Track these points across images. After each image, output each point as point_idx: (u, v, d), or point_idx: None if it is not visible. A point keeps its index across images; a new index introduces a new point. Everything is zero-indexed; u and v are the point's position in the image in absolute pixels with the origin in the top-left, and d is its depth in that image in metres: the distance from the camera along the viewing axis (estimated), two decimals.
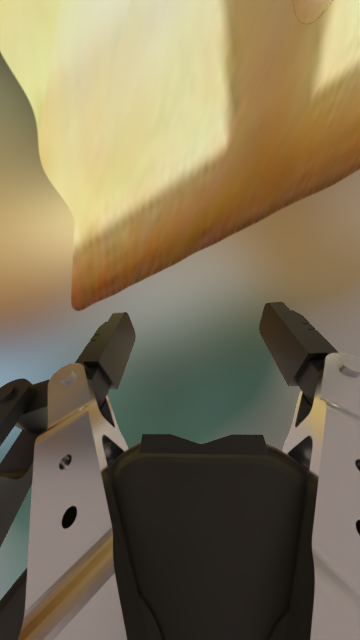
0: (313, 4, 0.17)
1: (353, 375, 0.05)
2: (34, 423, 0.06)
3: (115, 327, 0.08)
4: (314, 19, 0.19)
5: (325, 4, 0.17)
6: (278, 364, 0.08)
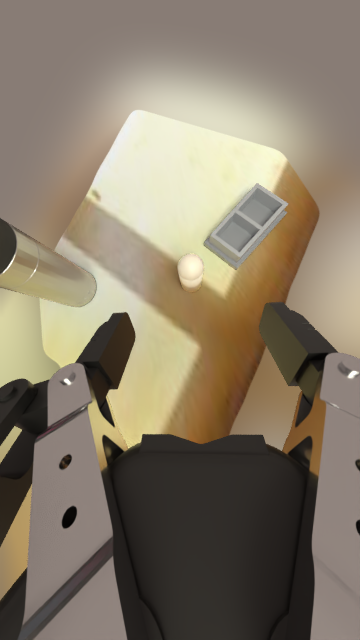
0: (195, 288, 0.34)
1: (353, 375, 0.05)
2: (34, 423, 0.06)
3: (115, 327, 0.08)
4: (199, 287, 0.36)
5: (200, 284, 0.34)
6: (278, 364, 0.08)
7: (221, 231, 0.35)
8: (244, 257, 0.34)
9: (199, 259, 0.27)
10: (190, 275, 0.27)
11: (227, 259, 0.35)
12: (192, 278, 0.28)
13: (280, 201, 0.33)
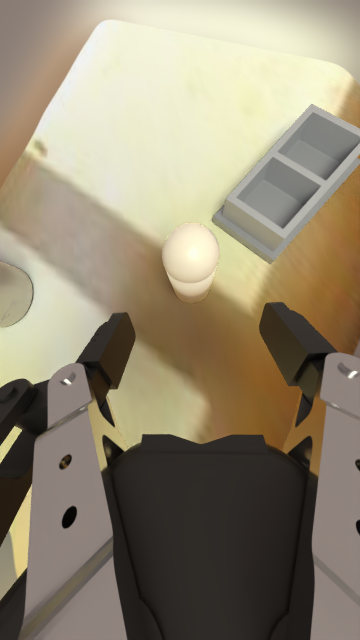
0: (200, 297, 0.18)
1: (353, 375, 0.05)
2: (34, 423, 0.06)
3: (115, 327, 0.08)
4: (206, 294, 0.20)
5: (208, 290, 0.19)
6: (278, 364, 0.08)
7: (245, 195, 0.19)
8: (286, 241, 0.19)
9: (211, 235, 0.12)
10: (190, 272, 0.12)
11: (255, 245, 0.20)
12: (194, 279, 0.12)
13: (358, 133, 0.17)
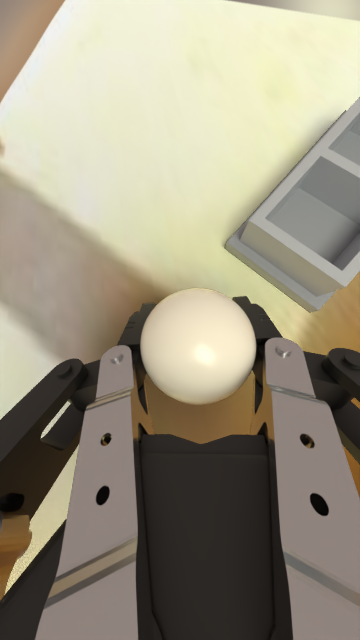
0: None
1: (283, 354, 0.05)
2: (81, 402, 0.06)
3: None
4: None
5: None
6: None
7: (274, 212, 0.13)
8: None
9: (243, 326, 0.05)
10: (196, 403, 0.05)
11: (290, 285, 0.13)
12: None
13: None
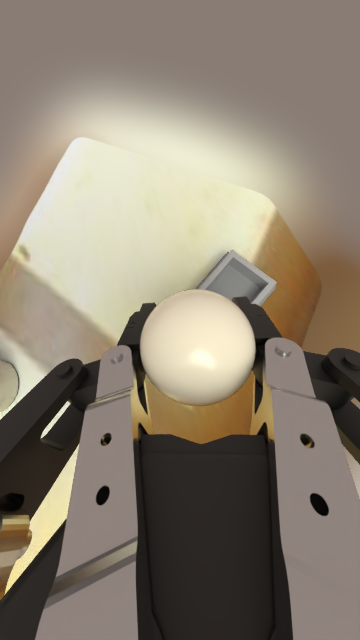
0: None
1: (283, 354, 0.05)
2: (81, 402, 0.06)
3: None
4: None
5: None
6: None
7: None
8: None
9: (243, 328, 0.05)
10: (195, 405, 0.05)
11: None
12: None
13: (265, 278, 0.23)
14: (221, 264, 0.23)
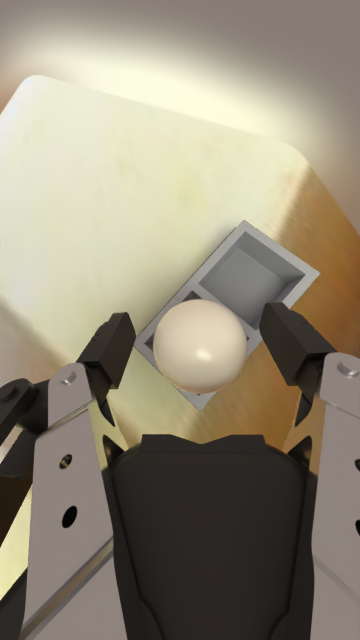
0: None
1: (352, 375, 0.05)
2: (34, 423, 0.06)
3: (115, 327, 0.08)
4: None
5: None
6: (278, 364, 0.08)
7: None
8: None
9: (236, 331, 0.07)
10: (199, 392, 0.07)
11: None
12: None
13: (300, 266, 0.13)
14: (225, 243, 0.14)
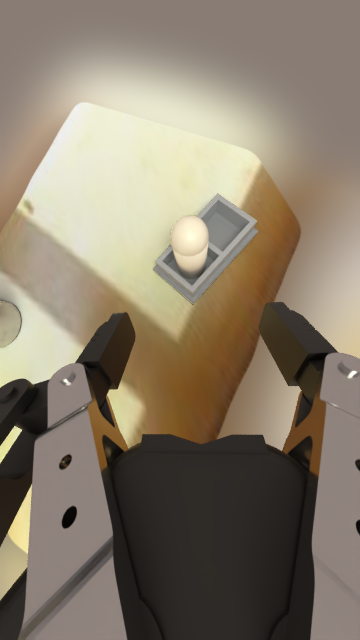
0: (197, 273, 0.25)
1: (353, 375, 0.05)
2: (34, 423, 0.06)
3: (115, 327, 0.08)
4: (202, 272, 0.27)
5: (203, 267, 0.25)
6: (278, 364, 0.08)
7: (173, 255, 0.27)
8: (202, 289, 0.27)
9: (202, 223, 0.18)
10: (188, 247, 0.18)
11: (181, 291, 0.27)
12: (191, 252, 0.19)
13: (247, 218, 0.25)
14: (207, 206, 0.26)
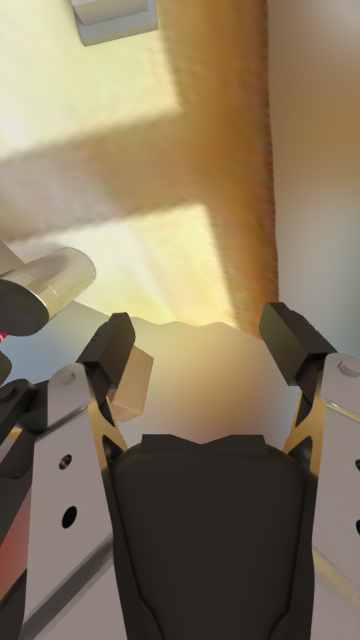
0: None
1: (353, 375, 0.05)
2: (34, 423, 0.06)
3: (115, 327, 0.08)
4: None
5: None
6: (278, 364, 0.08)
7: None
8: None
9: None
10: None
11: (132, 24, 0.19)
12: None
13: None
14: None
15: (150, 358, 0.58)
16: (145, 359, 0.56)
